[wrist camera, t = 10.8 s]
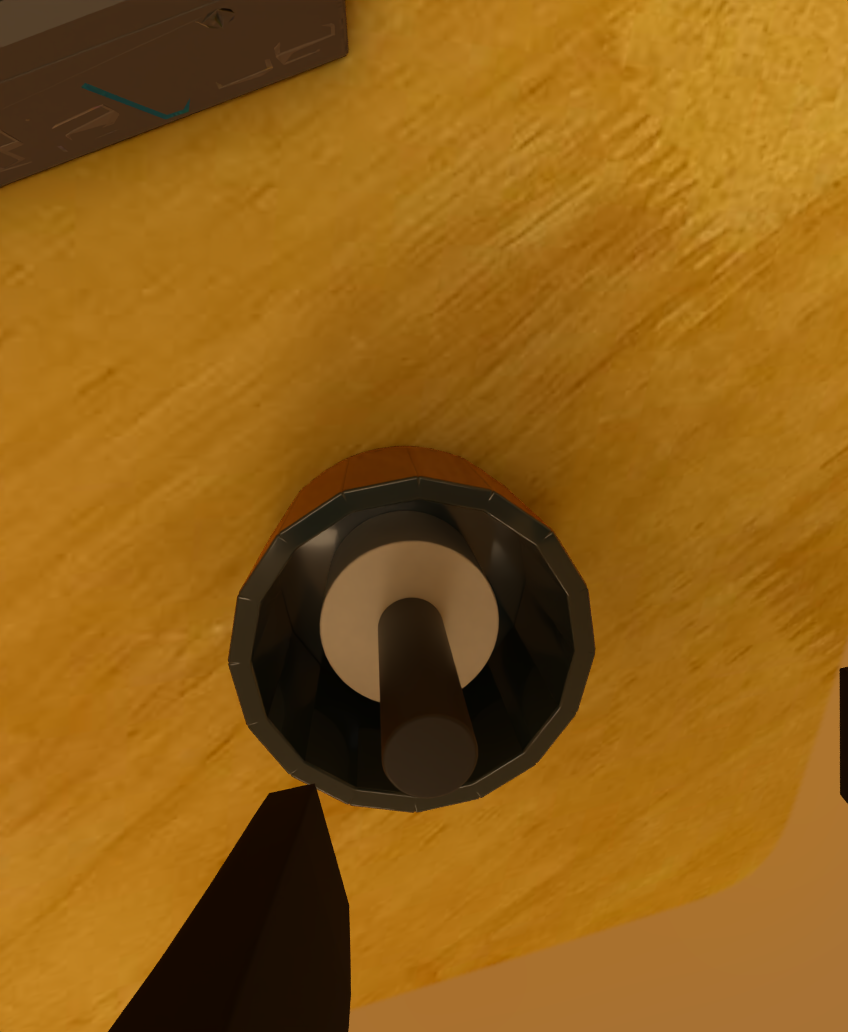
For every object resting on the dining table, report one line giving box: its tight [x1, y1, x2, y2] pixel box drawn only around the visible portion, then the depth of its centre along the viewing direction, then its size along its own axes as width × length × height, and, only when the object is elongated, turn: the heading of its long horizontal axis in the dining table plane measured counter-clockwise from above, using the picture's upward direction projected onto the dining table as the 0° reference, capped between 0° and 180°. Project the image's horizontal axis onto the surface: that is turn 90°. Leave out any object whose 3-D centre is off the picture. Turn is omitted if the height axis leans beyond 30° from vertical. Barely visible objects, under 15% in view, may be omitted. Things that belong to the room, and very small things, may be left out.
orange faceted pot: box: [228, 446, 595, 813], centre depth 16 cm, size 8×8×5 cm
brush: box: [320, 511, 499, 798], centre depth 14 cm, size 4×4×8 cm
